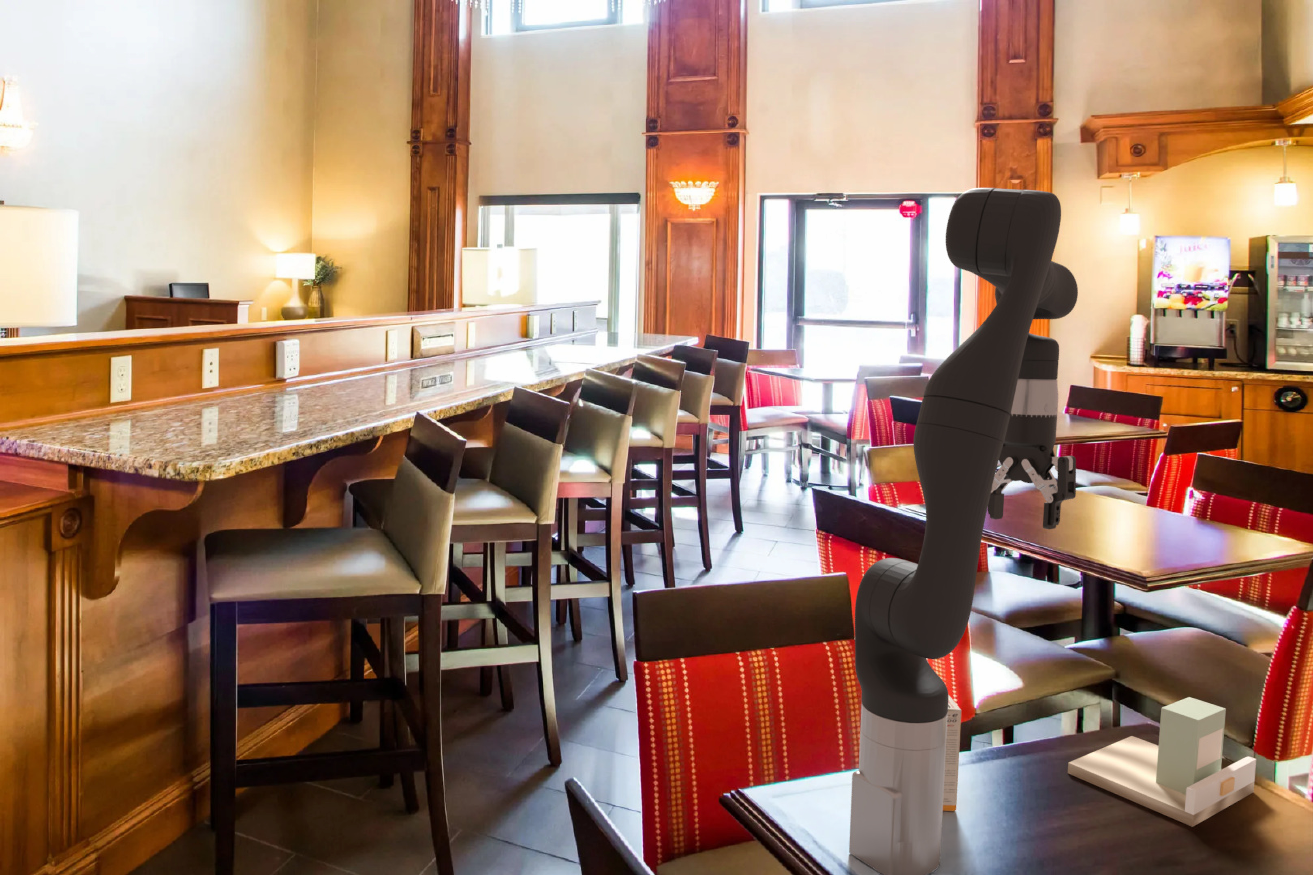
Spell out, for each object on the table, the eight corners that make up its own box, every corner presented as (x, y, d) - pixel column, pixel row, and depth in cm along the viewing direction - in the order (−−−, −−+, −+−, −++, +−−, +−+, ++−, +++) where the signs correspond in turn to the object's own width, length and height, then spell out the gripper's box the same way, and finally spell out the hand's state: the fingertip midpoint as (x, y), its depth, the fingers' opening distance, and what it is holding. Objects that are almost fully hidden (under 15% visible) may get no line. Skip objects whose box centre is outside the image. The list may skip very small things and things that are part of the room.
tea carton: (1220, 783, 115) (1226, 708, 114) (1192, 797, 111) (1199, 720, 110) (1183, 768, 118) (1188, 696, 117) (1155, 782, 115) (1161, 707, 114)
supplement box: (958, 812, 109) (963, 709, 108) (919, 811, 109) (924, 708, 108) (938, 780, 117) (943, 684, 116) (901, 779, 117) (906, 683, 116)
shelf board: (1195, 827, 106) (1198, 792, 106) (1067, 773, 120) (1069, 741, 119) (1256, 793, 115) (1258, 759, 115) (1131, 745, 129) (1133, 715, 128)
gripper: (1091, 413, 122) (1083, 529, 124) (1000, 407, 134) (995, 513, 135) (1059, 415, 118) (1052, 535, 120) (969, 408, 130) (963, 517, 131)
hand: (1021, 523), depth 128 cm, fingers open, 8 cm apart
